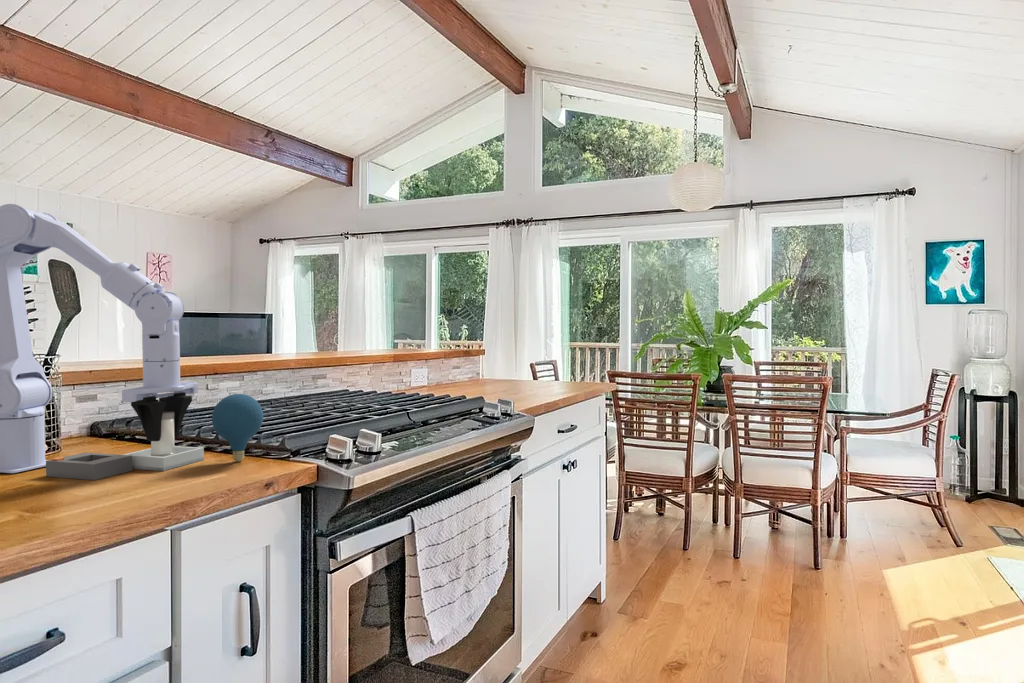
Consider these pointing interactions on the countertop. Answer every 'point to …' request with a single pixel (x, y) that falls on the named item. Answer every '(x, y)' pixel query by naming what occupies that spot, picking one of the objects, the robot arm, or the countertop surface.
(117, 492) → the countertop surface
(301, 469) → the countertop surface
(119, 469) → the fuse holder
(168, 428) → the cylinder
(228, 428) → the light bulb
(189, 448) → the parts tray
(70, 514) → the countertop surface
